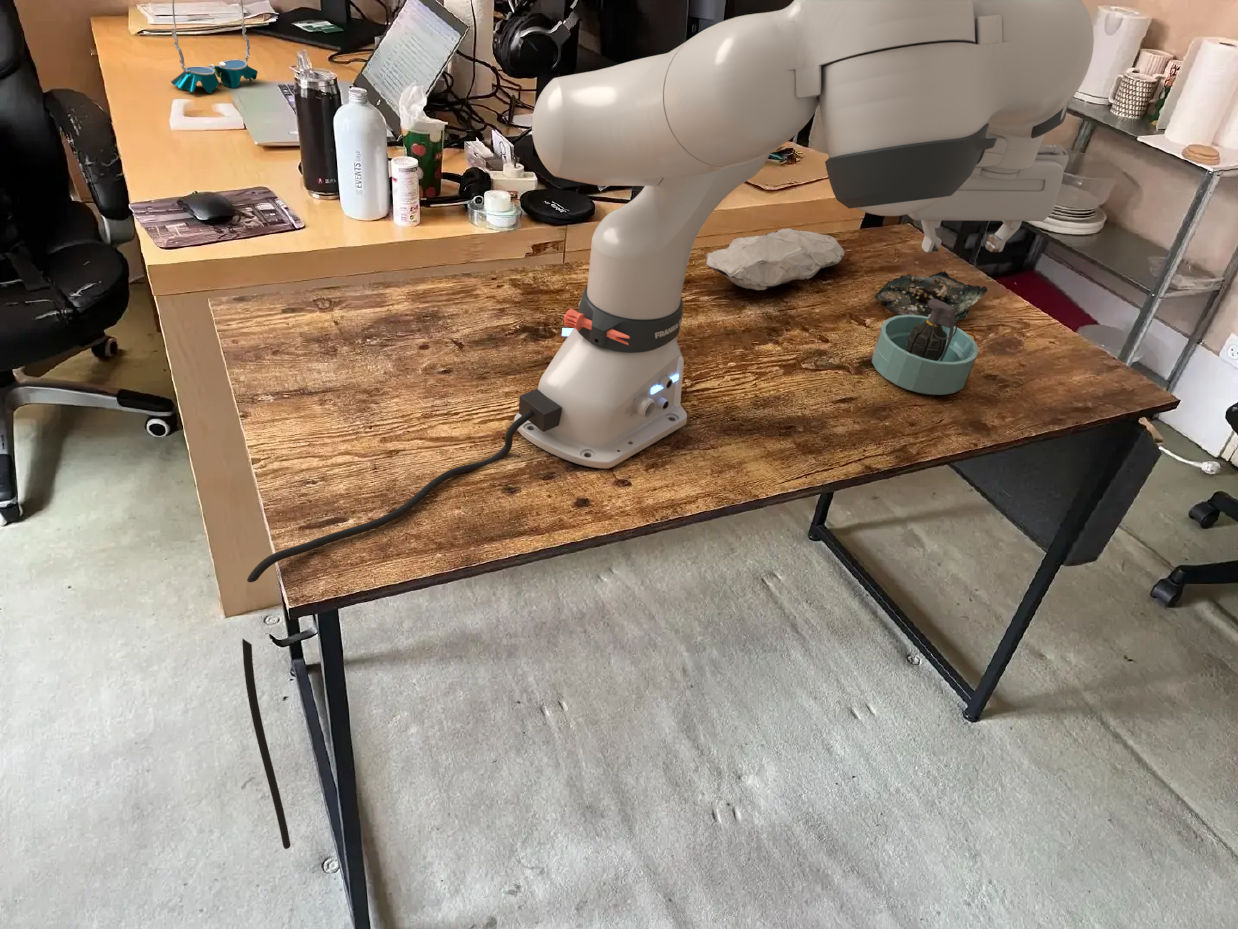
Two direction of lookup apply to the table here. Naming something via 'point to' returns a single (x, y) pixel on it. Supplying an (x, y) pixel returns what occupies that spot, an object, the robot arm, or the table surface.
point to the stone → (775, 258)
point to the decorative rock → (929, 294)
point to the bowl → (918, 370)
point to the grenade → (933, 332)
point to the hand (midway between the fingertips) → (961, 250)
